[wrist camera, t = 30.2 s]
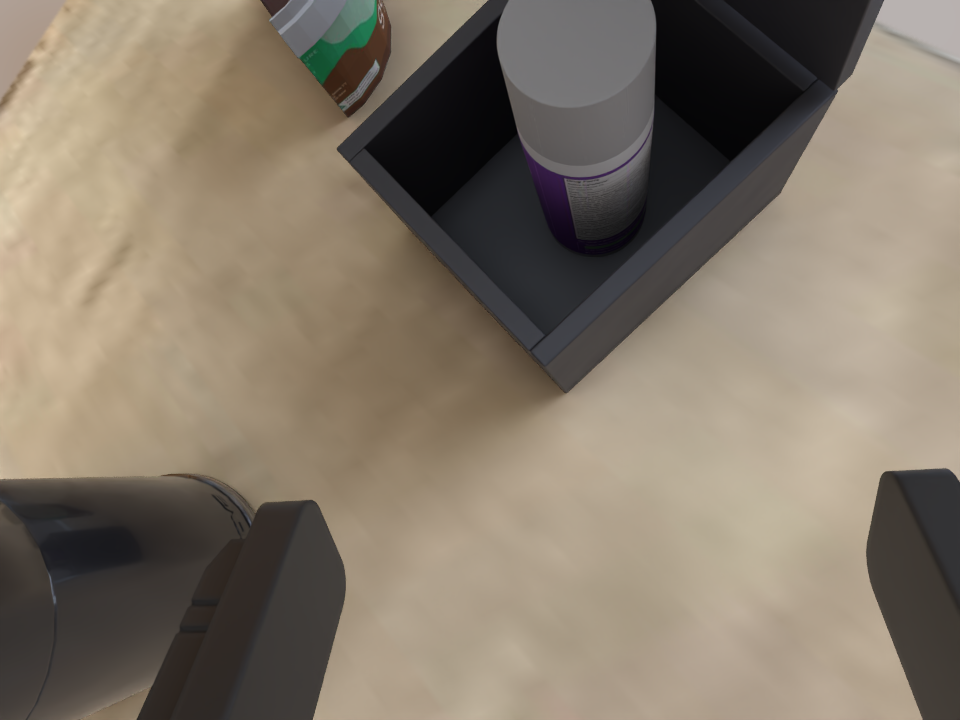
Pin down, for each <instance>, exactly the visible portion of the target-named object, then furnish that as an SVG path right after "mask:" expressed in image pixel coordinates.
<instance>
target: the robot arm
mask: <svg viewBox="0 0 960 720" xmlns="http://www.w3.org/2000/svg"><path fill="white" fill-rule="evenodd" d="M866 557H867V567H868V573H869V578H870V582H871V585H872V589H873V591H874V594H875V597H876V599H877V602H878V605H879V607H880V610H881V612H882V615H883V618H884V620H885V623H886V625H887V628H888V630H889V633H890V636H891V638H892V641H893V643H894V646H895V649H896V651H897V654H898V656H899V659H900V662H901V664H902V667H903V669H904V672H905V674H906V677H907V680H908V682H909V685H910V687H911V690H912V693H913V695H914V698H915V700H916V703H917V706H918V708H919V711H920V713H921V716H922V719H923V720H960V482H959V480H958V479H957V477H956V476H955V475H954V474H953V472H951V471H950V470H949V469H946V468H942V469H924V470H905V471H886V472H884V473H883V474H882V476H881V478H880V482H879V487H878V491H877V496H876V501H875V506H874V511H873V516H872V521H871V526H870V531H869V535H868V540H867V549H866ZM345 590H346V578H345V570H344V565H343V562H342V559H341V557H340V554H339V552H338V550H337V547H336V545H335V543H334V540H333V538H332V536H331V533H330V531H329V529H328V526H327V524H326V522H325V519H324V517H323V515H322V513H321V510H320V508H319V506H318V505H317V503H316V502H315V501H313V500H304V501H285V502H267V503H264V504H262V505H261V506H260V508H259V509H258V511H257V513H256V515H255V514H254V512H253V510H252V509H251V508H250V506H249V505H248V504H247V502H246V501H245V500H244V499H243V498H242V497H241V496H240V495H239V494H238V493H237V492H235V491H234V490H233V489H231V488H230V487H229V486H227V485H225V484H224V483H222V482H220V481H218V480H215V479H213V478H210V477H207V476H203V475H197V474H168V475H161V476H152V477H144V476H133V477H87V478H40V479H0V720H81V719H83V718H85V717H87V716H90V715H92V714H94V713H96V712H98V711H100V710H102V709H105V708H107V707H109V706H111V705H113V704H115V703H117V702H120V701H122V700H124V699H126V698H128V697H130V696H132V695H135V694H137V693H139V692H141V691H143V690H145V689H148V688H150V687H151V689H150V691H149V694H148V696H147V698H146V700H145V702H144V705H143V707H142V709H141V711H140V713H139V716H138V718H137V720H313V717H314V713H315V709H316V705H317V702H318V698H319V694H320V690H321V687H322V683H323V679H324V675H325V672H326V668H327V664H328V660H329V657H330V653H331V649H332V645H333V642H334V638H335V634H336V630H337V627H338V623H339V619H340V615H341V612H342V608H343V604H344V599H345Z"/></svg>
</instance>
